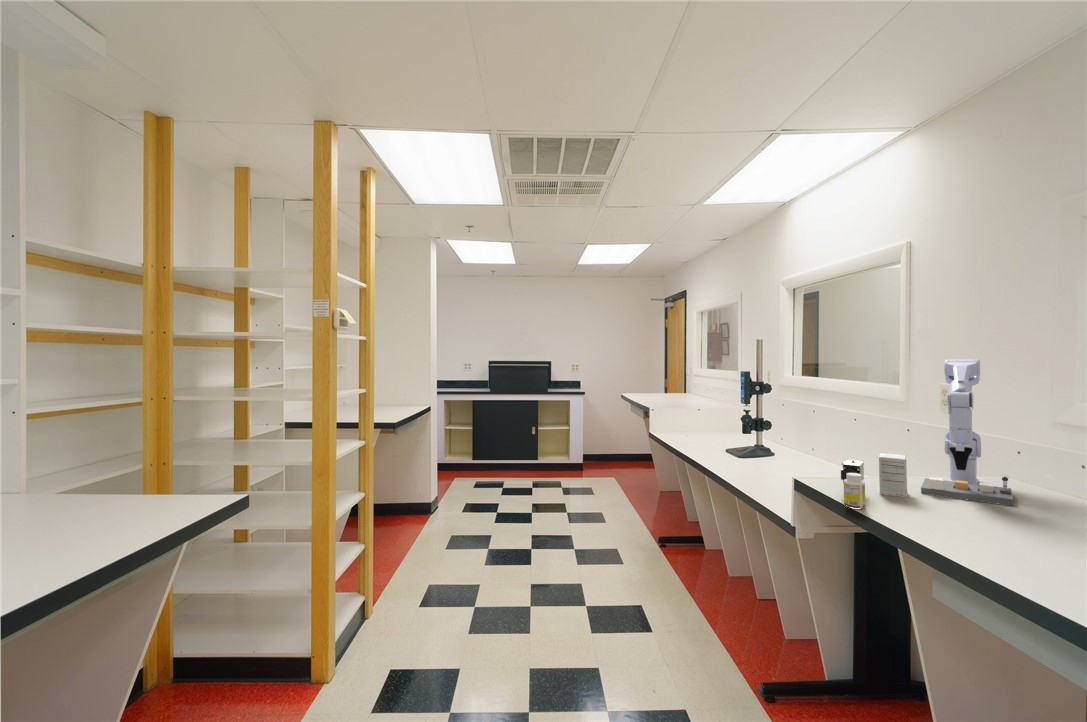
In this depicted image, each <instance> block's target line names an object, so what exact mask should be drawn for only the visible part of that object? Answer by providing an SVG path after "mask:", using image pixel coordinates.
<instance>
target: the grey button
mask: <svg viewBox="0 0 1087 722" xmlns="http://www.w3.org/2000/svg"><path fill="white" fill-rule="evenodd" d="M978 485H979V491H980V492H988V493H993V486H994V484H991V483H984V482H978Z"/></svg>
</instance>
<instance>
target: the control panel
mask: <svg viewBox="0 0 1087 722" xmlns="http://www.w3.org/2000/svg"><path fill="white" fill-rule="evenodd" d="M920 494H922V495H929V496H934V497H935V496H938V497H944V498H950V497H952V499H958V498H961V499H960V500H965V499H968V501H972V500H976V501H975V502H980V501H983V502H982V503H987V502H990V504H994V503H999V504H998V505H1002V504H1005V505H1004V506H1009V505H1013V506H1014V498H1013V493H1012V488H1011V487H1007V488H1005V487H1003V486H1001V487H1000V486H994V485H993V493H988V492H980V491H979V483H978V484H969V483H968V490H964V489H956V488H955V482H952V481H948V480H944V490H939V489H931V488H929V478H924V480H923V482H922V484H921V486H920Z"/></svg>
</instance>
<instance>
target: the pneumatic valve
mask: <svg viewBox="0 0 1087 722" xmlns="http://www.w3.org/2000/svg"><path fill="white" fill-rule="evenodd" d="M841 465H842V468H841V469H840V480H841V481H842V484H844V480H845V479H847V477H846V474H847V473H858V474H861V475H862V481H864V480H865V473H864V472H865V468H864V466H865V465H864V461H863V460H857V459H856V460H855V459H854V458H852V459H846V461H842V462H841Z"/></svg>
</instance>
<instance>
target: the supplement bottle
mask: <svg viewBox="0 0 1087 722" xmlns="http://www.w3.org/2000/svg"><path fill="white" fill-rule="evenodd" d="M846 477H847V479H845V480H844V483H843V502H844V503H843V505H844V504H845V505H847V506H848V507H853V508H866V482H865V481H864V480H863V481H862V475H861V474H858V473H847V474H846ZM845 505H844V506H845Z"/></svg>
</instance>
